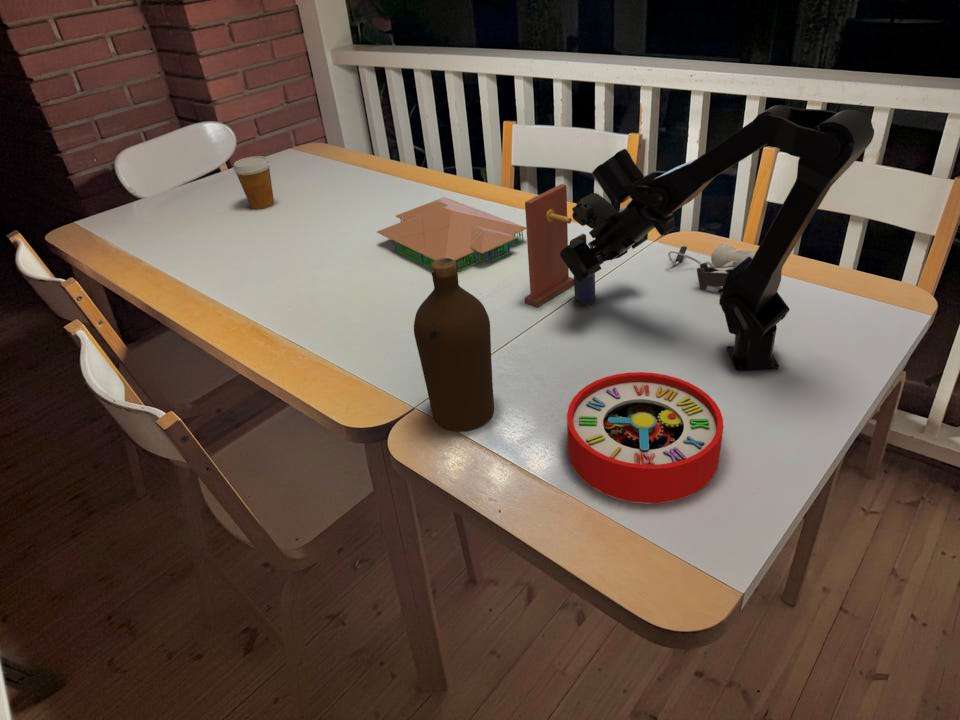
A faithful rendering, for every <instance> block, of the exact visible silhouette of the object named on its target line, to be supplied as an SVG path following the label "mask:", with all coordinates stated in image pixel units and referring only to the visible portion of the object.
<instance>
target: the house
mask: <svg viewBox="0 0 960 720" xmlns="http://www.w3.org/2000/svg"><path fill="white" fill-rule="evenodd" d="M395 217H396V218H397V219H400V222H398V223H396V224H392V225H390V226H387V227H385V228H382V229H379V230H377V231H376V234H379V235H380V236H383V237H385V238H387V239H390V240H392V241H393V242H394V244H395V249H396V252H398V253H400V254H401V255H403V256H405V257H407V258H409V259H412V260H413V261H415V262H417V263H419V264H421V265H424V266H425V267H427V268H429V269H431V270H432V263H433V261H436V260H438V259H442V258H449V259H453V260H454V261H455V263H456V265H459V264H461V263H463V262H466V260H467V261H468V260H470V264H469V262H467V264H466V263H464V265H461V267H462V268H460V266H458V270H457V268H456V270H457V273H458V272H460V271H462V270H464V269H467V268H469V267H471V266H473V265H475V264H477V263H480V262H482V261H484V260H485V261H488V262H492V261H495V260H497V259H499V258H501V257H503V256H506V255H508V254H510V249H511V248H513V247H515V246H518V245H520V244H522V243H524V235H523V233H524V232H523V231H525V230H527V228H526V226H524V225H522V224H518V223H515V222H513V221H510V220H508V219H505V218H502V217H499V216H497V215H495V214H492V213H490V212H489V213H488V212H485V211H483V210H481V209H478V208H475V207H473V206H470V205H467V204H464V203H461V202H459V201H457V200H454V199H451V198H448V197H445V196H443V197H441V198H438V199H435V200H432V201H430V202H428V203H425V204H422V205H420V206H417V207H414V208H411V209H409V210H407V211H404V212H400V213H398V214H396V215H395ZM518 235H519V236H518ZM513 241H517V244H513V243H510V242H513ZM510 244H511V245H510ZM496 248H497V250H496ZM497 253H498V255H499V256H498V257H495V258H492V260H491V254H492V255H494V254H497ZM500 253H501V256H500ZM503 253H504V254H503ZM477 255H478V256H477ZM481 255H482V256H481ZM481 257H482V259H481ZM472 258H473V259H472ZM478 258H479V261H478ZM459 259H460V260H461V261H460V260H459ZM463 259H464V260H463ZM456 261H457V262H456ZM463 266H465V267H463Z"/></svg>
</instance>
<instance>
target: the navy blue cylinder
mask: <svg viewBox="0 0 960 720" xmlns="http://www.w3.org/2000/svg"><path fill="white" fill-rule="evenodd" d="M578 239H579V240H583V241H585V242H586V243H587V235H586V234H585V233H581V234H580V235H577V236H576V237H574V238H572V239H571V240H570V241H569V245H570V244H571V243H573V242H575V241H577V240H578ZM573 278H574V285H573V288H574V289H573V290H574V291H573V292H574V297H573V302H574V303H575V304H576V305H578V306H582V307H588V306H592V305H594V304H595V303H596V302H597V296H596V295H597V294H596V273H594V274H593V275H592V276H590V277H589V278H587V279H585V280H584V281H582V282H580V281H577V279H576V278H575V276H574V275H573Z"/></svg>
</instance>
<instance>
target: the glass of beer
mask: <svg viewBox="0 0 960 720" xmlns="http://www.w3.org/2000/svg"><path fill="white" fill-rule="evenodd" d="M270 166H271V162H270V161H269V159H268V157H266V156H262V155H254V156H253V155H252V156H247V157H244V158H241V159H238V160H236V161H234V163H233V170H232V171H233V172H234V173H235V174H236V176H237V179H238V181H239V183H240V185H241V187H242V190H243V193H244V194H245V197H246V199H247V201H248V204H249V206H250V208H251V209H254V210H262V209H263V210H264V209H267V208H269V207H271V206H273V205H274V204H275V199H274V191H273V185H272V178H271V170H270Z"/></svg>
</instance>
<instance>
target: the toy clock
mask: <svg viewBox="0 0 960 720" xmlns="http://www.w3.org/2000/svg"><path fill="white" fill-rule="evenodd" d="M571 399H572V400H571V401H570V403H569V405H568V408H567V412H566V428H567V429H566V432H567V433H566V435H567V457H568V459H569V462H570V466H571V467H572V468H573V470H574V472H575V474H576V475H577V476H578V477H579V478H580V480H582V481H583V482H585V483H586V484H587V485H588V486H590V487H591V488H592V489H594V490H596V491H597V492H599V493H601V494H604V495H606V496H608V497H611V498H614V499H615V500H621V501H625V502H629V503H634V504H635V503H636V504H662V503H663V504H665V503H671V502H674V501H679V500H681V499H685V498H688V497H689V496H692V495H693V494H696V493H698V492H699V491H701V490H702V489H704V488H705V487H706V486H707V485H708V484H709V483H710V482H711V481H712V479H713V478H714V476H715V475H716V472H717V471H718V466H719V464H720V463H719V462H720V457H721V456H720V455H721V449H722V441H723V433H724V418H723V414H722V412H721V409H720V408H719V406H718V404H717V403H716V401H715V400H714V399H713V398H712V397H711V396H710V395H709V394H708V393H707V392H705V391H704V390H702V389H701V388H700V387H698V386H697V385H694V384H693V383H691V382H688V381H686V380H684V379H681V378H678V377H675V376H672V375H668V374H663V373H657V372H645V371H635V372H633V371H631V372H621V373H616V374H611V375H608V376H604V377H602V378H599V379H596V380H595V381H592V382H591V383H589V384H586V385H585V386H584V387H583V388H582V389H580V390H579V391H578V392H577V393H576V394H575V395H574V397H573V398H571Z"/></svg>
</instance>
